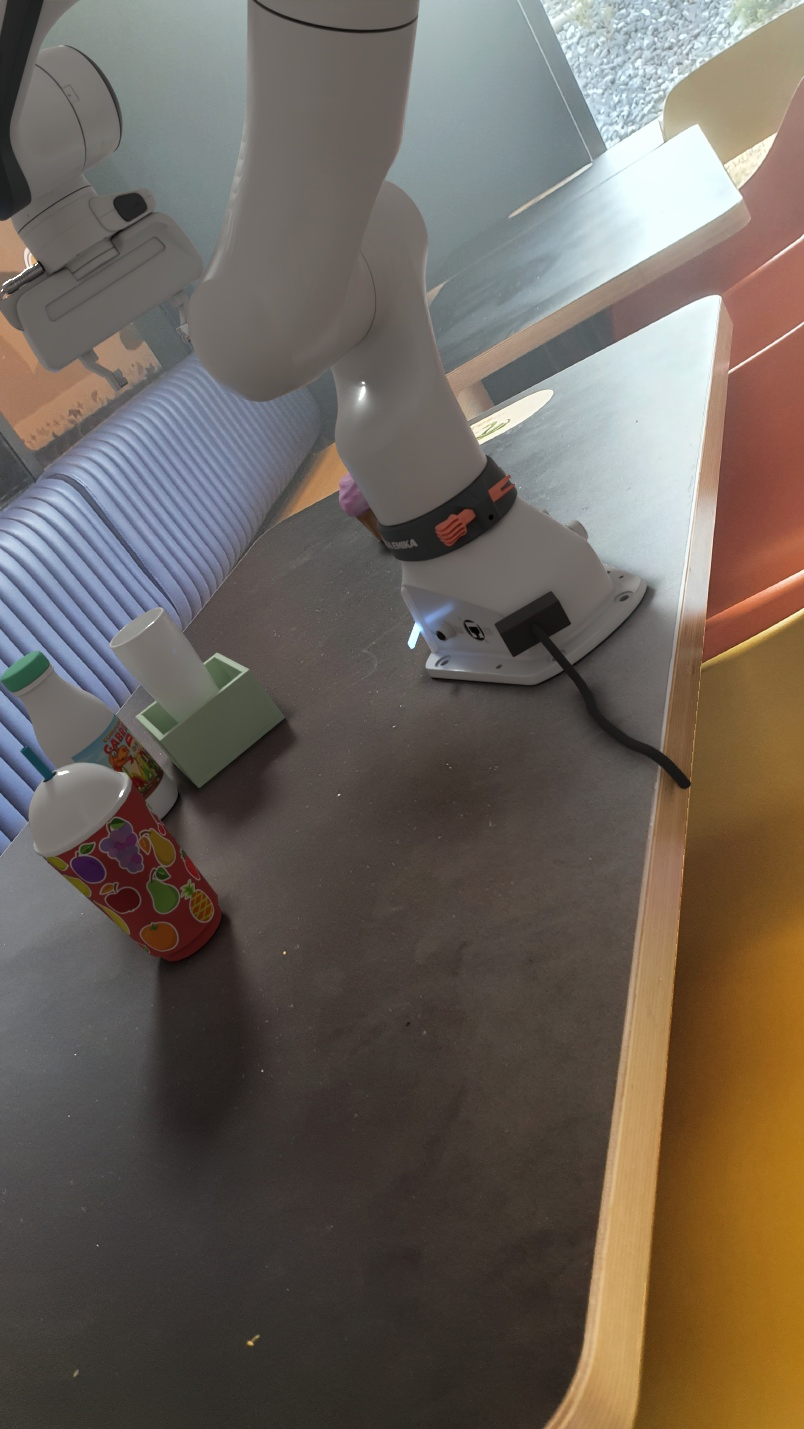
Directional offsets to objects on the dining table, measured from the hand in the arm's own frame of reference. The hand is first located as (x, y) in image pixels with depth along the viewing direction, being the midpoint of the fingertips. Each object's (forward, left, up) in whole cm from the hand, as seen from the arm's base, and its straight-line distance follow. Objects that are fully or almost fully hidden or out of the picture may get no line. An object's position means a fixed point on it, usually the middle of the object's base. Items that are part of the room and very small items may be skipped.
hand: (157, 363), depth 103 cm
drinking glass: (-11, +20, -34) cm, 41 cm away
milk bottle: (-13, +31, -34) cm, 48 cm away
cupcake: (+10, -17, -34) cm, 40 cm away
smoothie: (-39, +34, -34) cm, 62 cm away
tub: (-11, +20, -34) cm, 41 cm away
